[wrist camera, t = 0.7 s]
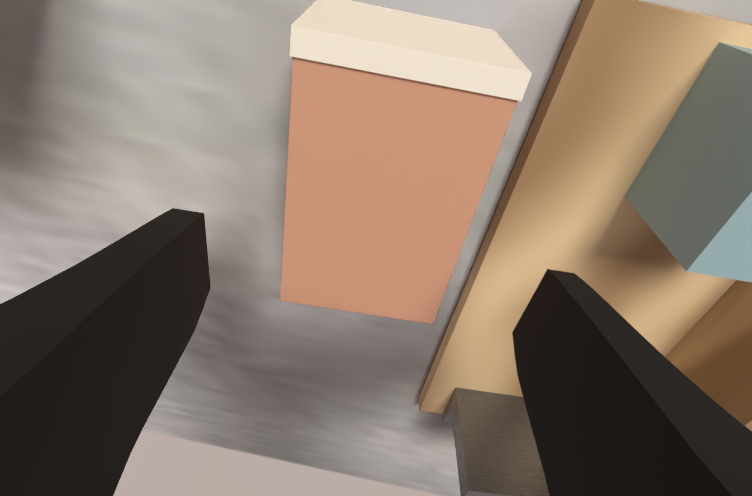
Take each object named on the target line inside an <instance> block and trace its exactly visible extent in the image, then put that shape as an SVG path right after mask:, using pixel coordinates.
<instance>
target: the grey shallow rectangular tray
mask: <svg viewBox="0 0 752 496" xmlns="http://www.w3.org/2000/svg"><path fill="white" fill-rule="evenodd" d="M443 422H444V423H452V424H453V429H454V438H455V447H456V456H457V465H458V474H459V483H460V492H461V496H549V492H548V487H547V483H546V479H545V475H544V471H543V468H542V464H541V460H540V457H539V453H538V450H537V446H536V442H535V439H534V435H533V431H532V428H531V424H530V420H529V417H528V413H527V410H526V406H525V402H524V398H523V397H521V396H514V395H506V394H499V393H492V392H485V391H478V390H471V389H464V388H457V387H455V389H454V391H453V393H452V396H451V398H450V400H449V402H448V404H447V406H446V408H445V410H444V412H443Z"/></svg>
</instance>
